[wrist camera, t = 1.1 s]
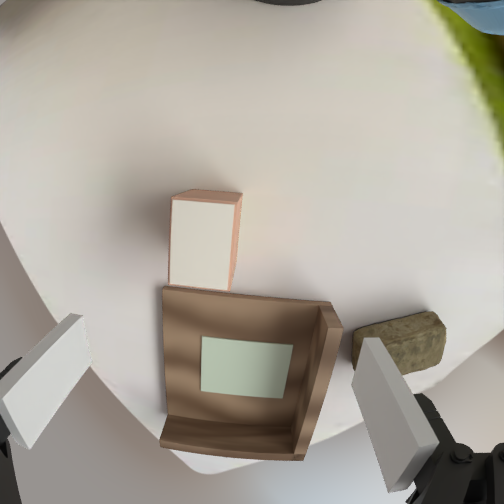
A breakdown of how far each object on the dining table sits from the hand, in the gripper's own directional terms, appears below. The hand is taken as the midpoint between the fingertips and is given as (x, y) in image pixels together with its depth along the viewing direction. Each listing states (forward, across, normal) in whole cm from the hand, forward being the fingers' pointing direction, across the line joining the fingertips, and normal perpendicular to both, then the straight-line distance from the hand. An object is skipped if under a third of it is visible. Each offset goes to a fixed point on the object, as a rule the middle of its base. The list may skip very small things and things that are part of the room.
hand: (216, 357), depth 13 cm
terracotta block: (+19, -3, +2) cm, 20 cm away
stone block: (+20, +19, -10) cm, 29 cm away
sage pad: (+18, +1, -14) cm, 23 cm away
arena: (+19, 0, -15) cm, 24 cm away
